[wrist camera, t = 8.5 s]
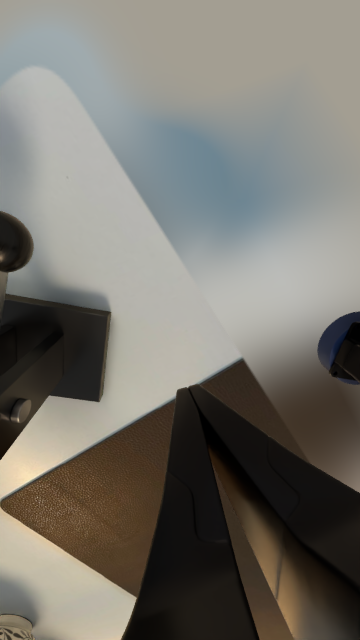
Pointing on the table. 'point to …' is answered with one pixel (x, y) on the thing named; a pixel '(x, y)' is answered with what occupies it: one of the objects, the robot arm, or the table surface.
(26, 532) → the table surface
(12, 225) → the ball knob lever
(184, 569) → the robot arm
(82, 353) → the lever base
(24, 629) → the bowl
